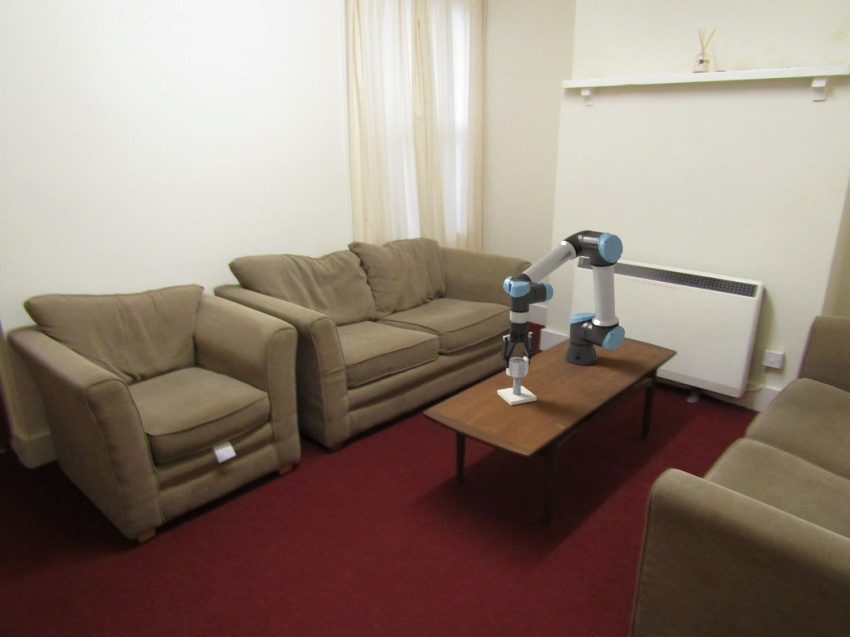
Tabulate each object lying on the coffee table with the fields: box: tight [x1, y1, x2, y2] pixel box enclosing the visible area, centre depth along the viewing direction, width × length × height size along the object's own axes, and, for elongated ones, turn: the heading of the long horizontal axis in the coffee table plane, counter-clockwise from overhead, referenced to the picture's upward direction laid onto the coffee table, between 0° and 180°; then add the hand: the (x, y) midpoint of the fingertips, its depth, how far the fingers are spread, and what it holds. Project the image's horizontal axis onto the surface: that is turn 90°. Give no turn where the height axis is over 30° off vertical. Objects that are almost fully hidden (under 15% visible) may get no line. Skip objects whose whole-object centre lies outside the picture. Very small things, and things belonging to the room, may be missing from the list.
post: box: [496, 377, 538, 406], centre depth 235 cm, size 12×12×8 cm
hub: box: [510, 356, 528, 378], centre depth 232 cm, size 7×7×6 cm
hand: (517, 373), depth 233 cm, fingers closed on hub, 7 cm apart
